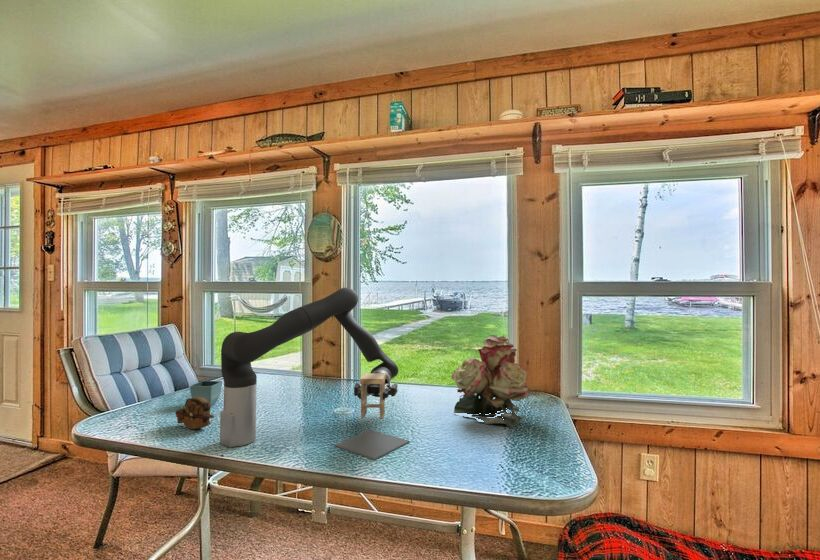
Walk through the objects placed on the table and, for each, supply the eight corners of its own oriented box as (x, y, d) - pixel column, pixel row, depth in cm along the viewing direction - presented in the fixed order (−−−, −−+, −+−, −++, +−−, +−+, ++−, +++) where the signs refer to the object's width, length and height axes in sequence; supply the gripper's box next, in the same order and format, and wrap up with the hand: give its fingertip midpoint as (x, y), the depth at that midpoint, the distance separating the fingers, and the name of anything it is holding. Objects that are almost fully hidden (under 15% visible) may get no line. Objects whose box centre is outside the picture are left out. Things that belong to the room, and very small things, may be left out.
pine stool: (359, 419, 114) (359, 378, 114) (363, 411, 121) (364, 373, 121) (382, 420, 114) (382, 378, 114) (385, 412, 121) (385, 373, 121)
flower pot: (211, 409, 151) (211, 386, 152) (188, 408, 151) (189, 385, 152) (222, 402, 160) (222, 380, 160) (201, 402, 160) (201, 380, 161)
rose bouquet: (443, 417, 143) (444, 335, 144) (485, 401, 164) (484, 330, 165) (507, 434, 125) (507, 341, 127) (544, 413, 147) (543, 334, 148)
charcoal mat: (374, 460, 106) (374, 458, 106) (334, 446, 115) (334, 444, 115) (409, 442, 118) (409, 440, 118) (370, 430, 128) (370, 429, 128)
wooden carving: (169, 427, 131) (170, 397, 131) (182, 423, 135) (182, 394, 135) (206, 433, 125) (207, 402, 125) (218, 429, 129) (218, 398, 130)
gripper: (358, 371, 132) (348, 383, 115) (400, 371, 132) (396, 383, 115) (358, 393, 132) (348, 408, 115) (400, 393, 131) (396, 409, 115)
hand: (372, 396), depth 115 cm, fingers closed on pine stool, 6 cm apart
